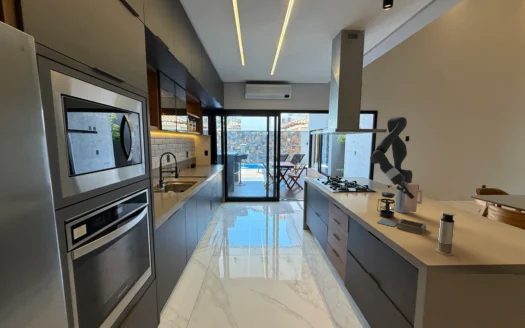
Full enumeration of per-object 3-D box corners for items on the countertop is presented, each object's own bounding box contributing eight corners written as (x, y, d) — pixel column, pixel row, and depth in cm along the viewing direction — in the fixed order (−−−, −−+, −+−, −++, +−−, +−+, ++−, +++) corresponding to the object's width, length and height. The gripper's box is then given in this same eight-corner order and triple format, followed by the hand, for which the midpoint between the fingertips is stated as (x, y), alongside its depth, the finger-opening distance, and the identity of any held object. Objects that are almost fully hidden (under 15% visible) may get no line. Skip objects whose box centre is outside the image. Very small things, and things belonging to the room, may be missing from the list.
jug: (405, 208, 146) (407, 182, 144) (421, 211, 140) (424, 184, 138) (402, 210, 142) (405, 183, 140) (419, 213, 135) (422, 186, 134)
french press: (394, 215, 168) (396, 184, 165) (395, 219, 159) (398, 187, 157) (376, 213, 172) (378, 183, 170) (377, 216, 164) (379, 185, 161)
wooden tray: (401, 223, 150) (401, 218, 150) (425, 229, 141) (426, 224, 141) (396, 228, 143) (397, 222, 142) (422, 234, 133) (422, 228, 133)
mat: (382, 219, 158) (382, 218, 158) (398, 223, 151) (398, 222, 151) (377, 223, 151) (377, 222, 151) (393, 227, 144) (393, 226, 144)
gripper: (396, 173, 139) (417, 195, 132) (402, 171, 149) (422, 191, 142) (386, 180, 144) (406, 202, 137) (393, 178, 154) (412, 198, 147)
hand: (414, 197), depth 139 cm, fingers closed on jug, 6 cm apart
